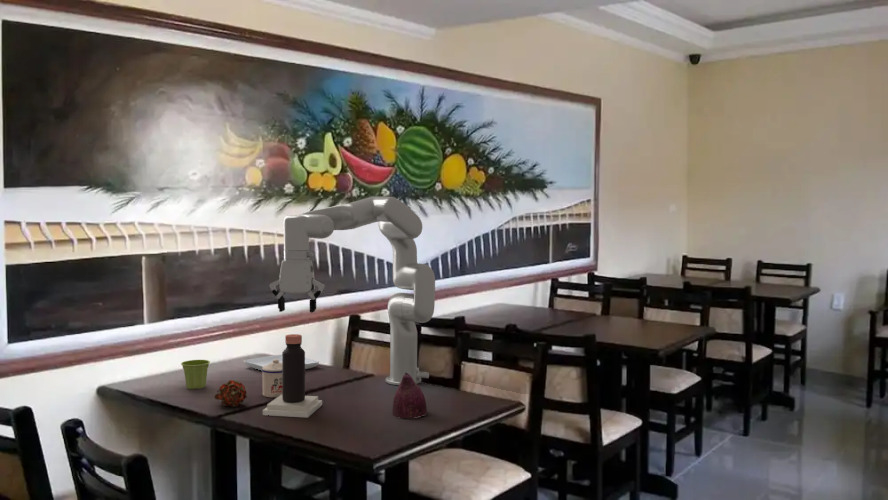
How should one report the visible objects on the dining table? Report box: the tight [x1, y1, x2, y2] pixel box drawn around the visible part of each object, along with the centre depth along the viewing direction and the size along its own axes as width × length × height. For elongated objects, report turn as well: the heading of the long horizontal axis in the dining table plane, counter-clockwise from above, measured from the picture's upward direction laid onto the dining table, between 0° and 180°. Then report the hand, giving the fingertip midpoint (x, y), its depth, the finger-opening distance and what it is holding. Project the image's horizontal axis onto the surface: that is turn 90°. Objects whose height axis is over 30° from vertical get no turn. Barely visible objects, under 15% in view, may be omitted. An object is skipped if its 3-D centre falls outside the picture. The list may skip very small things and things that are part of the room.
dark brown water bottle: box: [281, 333, 306, 403], centre depth 235 cm, size 7×7×20 cm
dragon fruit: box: [213, 379, 248, 408], centre depth 240 cm, size 8×8×12 cm
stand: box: [262, 395, 323, 419], centre depth 235 cm, size 14×14×3 cm
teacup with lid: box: [261, 359, 282, 399], centre depth 254 cm, size 12×9×12 cm
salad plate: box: [243, 354, 320, 372], centre depth 292 cm, size 21×21×3 cm
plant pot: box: [180, 359, 211, 390], centre depth 262 cm, size 9×9×9 cm
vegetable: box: [391, 372, 428, 419], centre depth 230 cm, size 10×10×15 cm
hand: (297, 311), depth 235 cm, fingers open, 9 cm apart
